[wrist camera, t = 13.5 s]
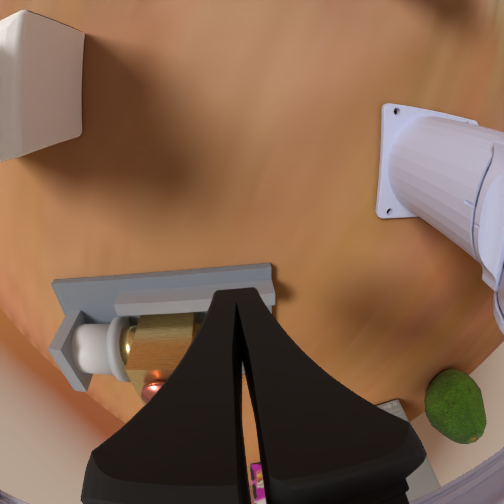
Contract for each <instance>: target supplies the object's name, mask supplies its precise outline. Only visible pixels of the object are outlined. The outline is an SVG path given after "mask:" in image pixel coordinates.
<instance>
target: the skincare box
mask: <svg viewBox="0 0 504 504" xmlns="http://www.w3.org/2000/svg"><path fill="white" fill-rule="evenodd" d="M377 407H379V408H381V409H383V410H385V411H387V412H389V413H391V414H393V415H395V416H397V417H399V418H401V419H404V420H406V421H408V422H409V420H408V418H407V416H406V414H405V412H404V410H403V408H402V406H401V404H400V402H399V400H398V399H397V400H393V401H390V402H387V403H384V404H381V405H377ZM409 423H410V422H409ZM406 480H407V483H408V486H409V490H408V491H407V492H405V493H406V495H407V498H408V501H409V502H411V501H413V500H415V499H417V498H419V497H422V496H424V495H426V494H428V493H430V492H432V491H434V490H436V489H438V488H440V487H441V486H440V484H439V482H438V480H437V478H436V476H435V473H434V471H433V469H432V467H431V465H430V463H429V460H428V458H427V456H426V458H425V460H424V462H423V463H422V464H421V465H420V466H419V467H418V468H417V469H416V470H415V471H414V472H413V473H412V474H410V475H409V476H408V477H407V478H406Z"/></svg>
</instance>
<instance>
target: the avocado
mask: <svg viewBox="0 0 504 504" xmlns="http://www.w3.org/2000/svg"><path fill="white" fill-rule="evenodd" d="M425 412H426V415H427V417H428V419H429V421H430V423H431V425H432V426H433V427H434V428H435V429H437V430H438V431H439V432H440V433H442V434H443V435H444V436H446V437H447V438H449V439H450V440H452V441H454V442H457V443H460V444H469V443H473V442H476V441H477V440H478V439H479V438H480V437H481V436H482V434H483V432H484V429H485V426H486V414H485V409H484V404H483V399H482V394H481V390H480V388H479V387H478V385H477V384H476V383H475V381H474V380H473V379H472V378H471V377H469V376H468V375H467V374H466V373H464V372H462V371H460V370H456V369H450V370H446V371H444V372H441V373H439V374H438V376H437V377H436V378H435V379H434V380H433V381H432V383H431V385H430V386H429V388H428V389H427V392H426V395H425Z"/></svg>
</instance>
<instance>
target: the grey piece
mask: <svg viewBox="0 0 504 504" xmlns="http://www.w3.org/2000/svg"><path fill="white" fill-rule="evenodd" d="M51 284H52V287H53V289H54V291H55V294H56V296H57V298H58V301H59V303H60V305H61V307H62V310H63V312H64V314H65V316H66V317H65V318H64V320H63V322H62V324H61V326H60V327H59V329H58V331H57V333H56V335H55V337H54V339H53V340H52V342H51V344H50V346H49V348H48V350H49V352H50V353H51V355H52V357H53V358H54V360H55V361H56V363H57V365H58V366H59V368H60V369H61V371H62V372H63V374H64V375H65V377H66V378H67V380H68V381H69V383H70V384H71V385H72V387H73V388H74V390H75V391H84V392H87V390H88V387H89V384H90V381H91V378H92V375H93V374H106V375H114V376H115V377H116V379H117V380H119V381H121V382H131V380H130V378H129V376H128V374H127V373H126V371H125V368H126V366H125V365H124V363H123V361H122V358H121V354H120V348H119V338H120V333H121V330H122V328H123V327H124V326H129V325H138V322H139V319H140V315H151V314H170V313H187V312H196V315H197V320H198V322H203V320H204V318H205V316H206V313H207V311H208V309H209V306H210V304H211V301H212V298H213V294H214V293H215V292H216V291H217V290H226V289H238V288H249V287H254V288H256V289H257V290H258V292H259V294H260V296H261V298H262V300H263V302H264V303H265V305H266V306H267V308H268V309H269V311H270V312H271V314H272V305H275V290H274V287H273V283H272V280H271V264H270V263H261V264H250V265H238V266H227V267H215V268H203V269H191V270H179V271H166V272H153V273H140V274H127V275H113V276H99V277H85V278H71V279H56V280H54V281H53V282H52V283H51ZM242 374H245V371H244V366H243V361H242Z"/></svg>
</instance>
